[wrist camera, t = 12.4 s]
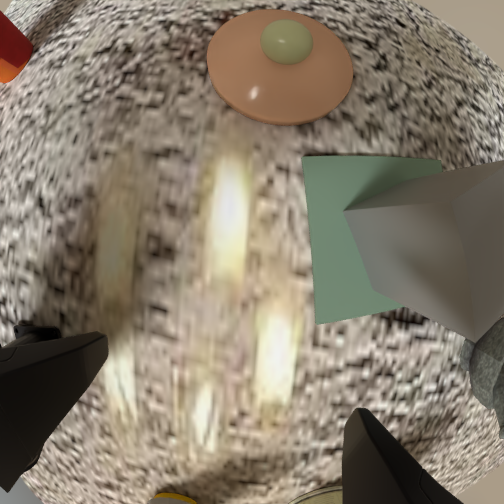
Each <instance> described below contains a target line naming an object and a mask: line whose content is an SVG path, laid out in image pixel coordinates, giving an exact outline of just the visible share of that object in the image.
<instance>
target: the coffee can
mask: <svg viewBox="0 0 504 504" xmlns="http://www.w3.org/2000/svg"><path fill="white" fill-rule="evenodd" d="M289 504H342V486H332V487H327V488H323V489H319V490H316V491H313V492H310V493H307V494H305V495H303V496H300V497H298V498H297V499H295V500H293V501H292V502H290V503H289Z"/></svg>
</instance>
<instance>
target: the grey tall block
mask: <svg viewBox="0 0 504 504" xmlns="http://www.w3.org/2000/svg"><path fill="white" fill-rule="evenodd" d="M343 214H344V216H345V218H346V221H347V223H348V225H349V228H350V230H351V233H352V235H353V238H354V240H355V243H356V245H357V248H358V251H359V253H360V256H361V258H362V261H363V264H364V267H365V269H366V272H367V275H368V278H369V281H370V284H371V286H372V289H373V290H374V291H376V292H378V293H380V294H382V295H384V296H386V297H388V298H390V299H392V300H394V301H396V302H398V303H400V304H402V305H404V306H405V307H407V308H409V309H411V310H413V311H415V312H417V313H419V314H421V315H423V316H425V317H427V318H429V319H431V320H433V321H435V322H437V323H438V324H440V325H442V326H444V327H446V328H448V329H450V330H452V331H454V332H456V333H458V334H459V335H461V336H463V337H465V338H467V339H469V340H471V341H473V342H474V343H476V342H477V341H478V340H479V339H480V338H481V337H482V336H483V335H484V334H485V333H486V332H487V331H488V330H489V329H490V328H491V327H492V326H493V325H494V324H495V323H496V321H497V320H498V319H499V318H500V317H501V316H502V315H503V314H504V160H502V161H497V162H491V163H486V164H481V165H475V166H470V167H465V168H460V169H455V170H451V171H446V172H441V173H436V174H432V175H427V176H423V177H418V178H414V179H409V180H406V181H404V182H402V183H399V184H397V185H395V186H393V187H391V188H389V189H387V190H385V191H383V192H381V193H379V194H377V195H375V196H373V197H371V198H369V199H367V200H364V201H362V202H360V203H358V204H356V205H354V206H352V207H350V208H348V209H346V210H344V211H343Z"/></svg>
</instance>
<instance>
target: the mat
mask: <svg viewBox="0 0 504 504" xmlns="http://www.w3.org/2000/svg"><path fill="white" fill-rule="evenodd" d="M301 159H302V167H303V175H304V183H305V192H306V201H307V210H308V220H309V231H310V243H311V255H312V269H313V285H314V303H315V323H316V324H317V325H318V324H324V323H330V322H335V321H341V320H346V319H351V318H356V317H361V316H366V315H371V314H375V313H380V312H384V311H389V310H393V309H397V308H401V307H405V306H404V305H402V304H400V303H398V302H396V301H394V300H392V299H390V298H388V297H386V296H384V295H382V294H380V293H378V292H376V291H374V290H373V289H372V286H371V284H370V281H369V278H368V275H367V272H366V269H365V267H364V264H363V261H362V258H361V256H360V253H359V251H358V248H357V245H356V243H355V240H354V238H353V235H352V233H351V230H350V228H349V225H348V223H347V221H346V218H345V216H344V214H343V211H344V210H346V209H348V208H350V207H352V206H354V205H356V204H358V203H360V202H362V201H364V200H367V199H369V198H371V197H373V196H375V195H377V194H379V193H381V192H383V191H385V190H387V189H389V188H391V187H393V186H395V185H397V184H399V183H402V182H404V181H406V180H409V179H414V178H418V177H423V176H427V175H432V174H436V173H441V172H443V171H442V164H441V160H433V159H421V158H406V157H386V156H306V157H302V158H301Z"/></svg>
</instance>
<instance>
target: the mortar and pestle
mask: <svg viewBox="0 0 504 504" xmlns="http://www.w3.org/2000/svg"><path fill="white" fill-rule="evenodd" d="M460 362H461V368H462V369H464V370H466V371H469V374H470V384H471V387H472V390H473V394H474V396H475V397H476V398H477V399H478V400H479V402H480V403H481V404H482V405H484V406H485V407H486V408H488V409H495V412H496V415H497V419H498V422H499V426H500V431H499V438H500V439H504V318H501V319H500V320H499V321H497V322H496V323H495V324H494V325H493V326H492V327H491V328H490V329H489V330H488V331H487V332H486V333H485V334H484V335H483V336H482V337H481V338H480V339H479V340H478V341H477V342H476V343H474V342H473V341H471V340H469V339H467V338H466V339H465V341H464V345H463V348H462V351H461V354H460Z"/></svg>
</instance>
